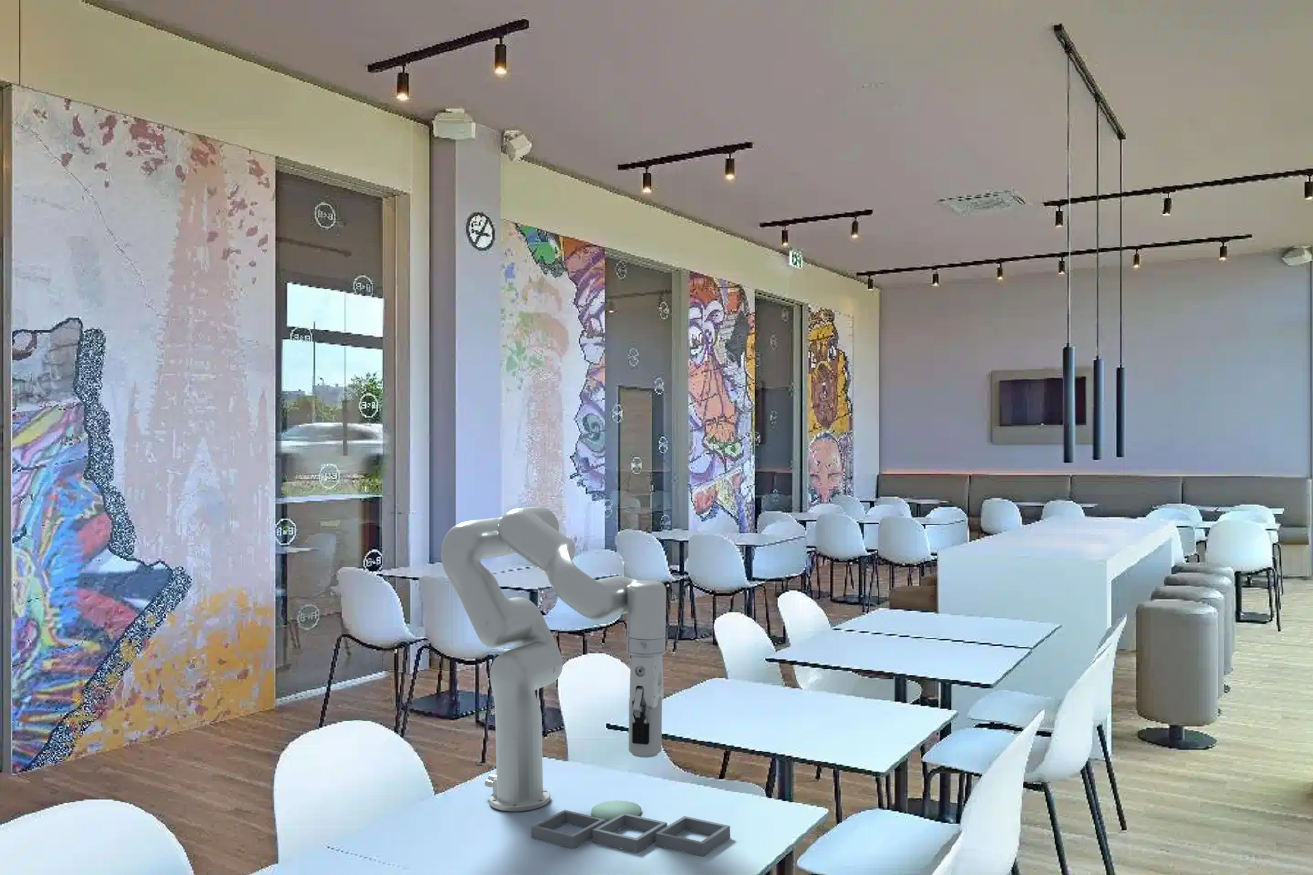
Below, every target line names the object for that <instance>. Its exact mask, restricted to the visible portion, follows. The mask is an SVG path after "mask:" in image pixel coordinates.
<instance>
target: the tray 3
mask: <svg viewBox="0 0 1313 875" xmlns="http://www.w3.org/2000/svg"><path fill="white" fill-rule="evenodd" d="M684 831H690V832H694V833H699V834H703V835H707V836H708V837H706V838H704V839H703V840H701V841H699V840H695V839H690V838H687V837H681V836H678V835H680V834H682V833H683V832H684ZM729 839H731V825H726V824H723V823H718V822H714V821H709V820H705V819H699V818H695V817H691V816H690V817H689V816H686V815H684V816H682V817H680V818H679V819H677V820H675V821H673V822H672V823H670V824H669V825H668V824H667V827H665V828H663V829H662V830H660V831H658V832H657V833H656V842H655V846H657V847H661V848H666V849H670V850H674V851H678V852H682V853H687V854H691V855H694V856H699V857H705V856H706V855H707V854H709V853H710V852H712V851H713V850H715V849H716V848H718V847H720V846H721V845H722V844H724V843H725V842H726V841H729ZM714 848H715V849H714Z"/></svg>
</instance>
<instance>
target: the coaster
mask: <svg viewBox="0 0 1313 875" xmlns="http://www.w3.org/2000/svg"><path fill="white" fill-rule="evenodd" d="M623 813H626V814H631V815H635V816H640V815H641V813H642V807H641V805H639V804H638V803H635V802H633V801H629V800H627V801H626V800H611V801H610V800H609V801H605V802H604V801H603V802H601V803H597V804H596V805H593V806H592V808H591V812H590V814H591V816H593V817H598V818H602V819H606V822H608V821H610V820H612V819H613V818H615V817H617V816H619V815H621V814H623Z"/></svg>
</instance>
